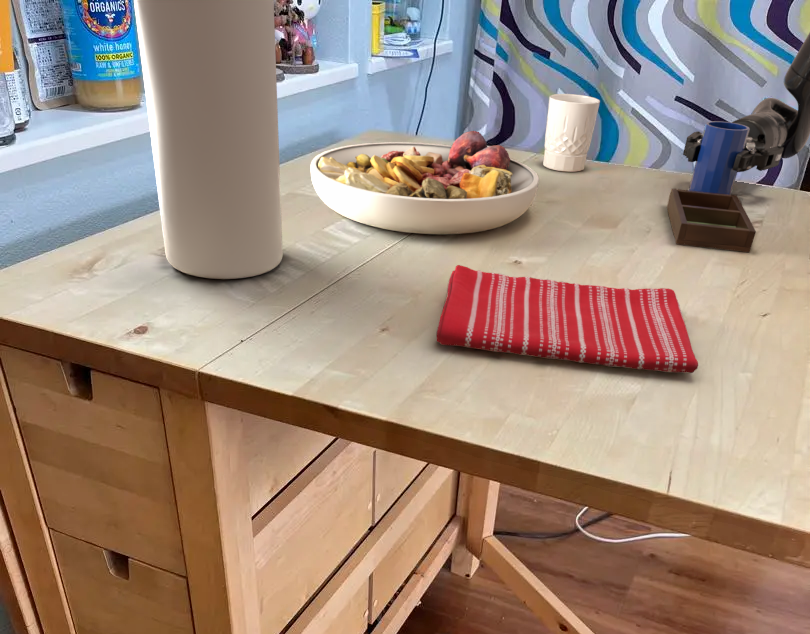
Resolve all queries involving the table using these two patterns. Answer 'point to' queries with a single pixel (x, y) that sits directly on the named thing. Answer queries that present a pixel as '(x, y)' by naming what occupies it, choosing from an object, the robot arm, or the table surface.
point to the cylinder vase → (214, 132)
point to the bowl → (425, 185)
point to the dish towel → (566, 321)
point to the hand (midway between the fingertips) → (714, 158)
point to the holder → (710, 220)
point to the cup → (718, 157)
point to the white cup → (569, 131)
